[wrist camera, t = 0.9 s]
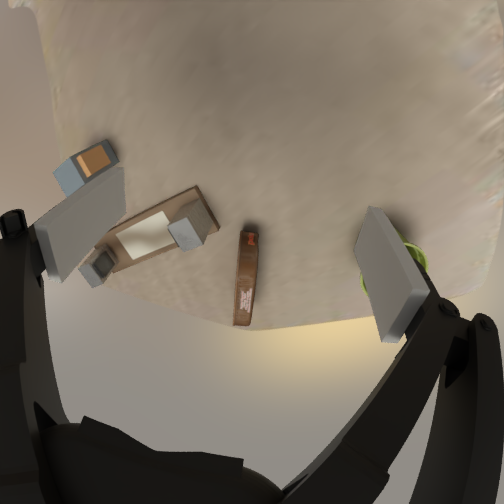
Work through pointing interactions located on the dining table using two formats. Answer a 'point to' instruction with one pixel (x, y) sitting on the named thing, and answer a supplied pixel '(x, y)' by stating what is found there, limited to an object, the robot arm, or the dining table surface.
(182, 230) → the near end finger
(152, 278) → the dining table surface
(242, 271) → the tin
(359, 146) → the dining table surface
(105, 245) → the far end finger
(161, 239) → the brown flat board
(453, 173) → the dining table surface
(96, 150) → the block
